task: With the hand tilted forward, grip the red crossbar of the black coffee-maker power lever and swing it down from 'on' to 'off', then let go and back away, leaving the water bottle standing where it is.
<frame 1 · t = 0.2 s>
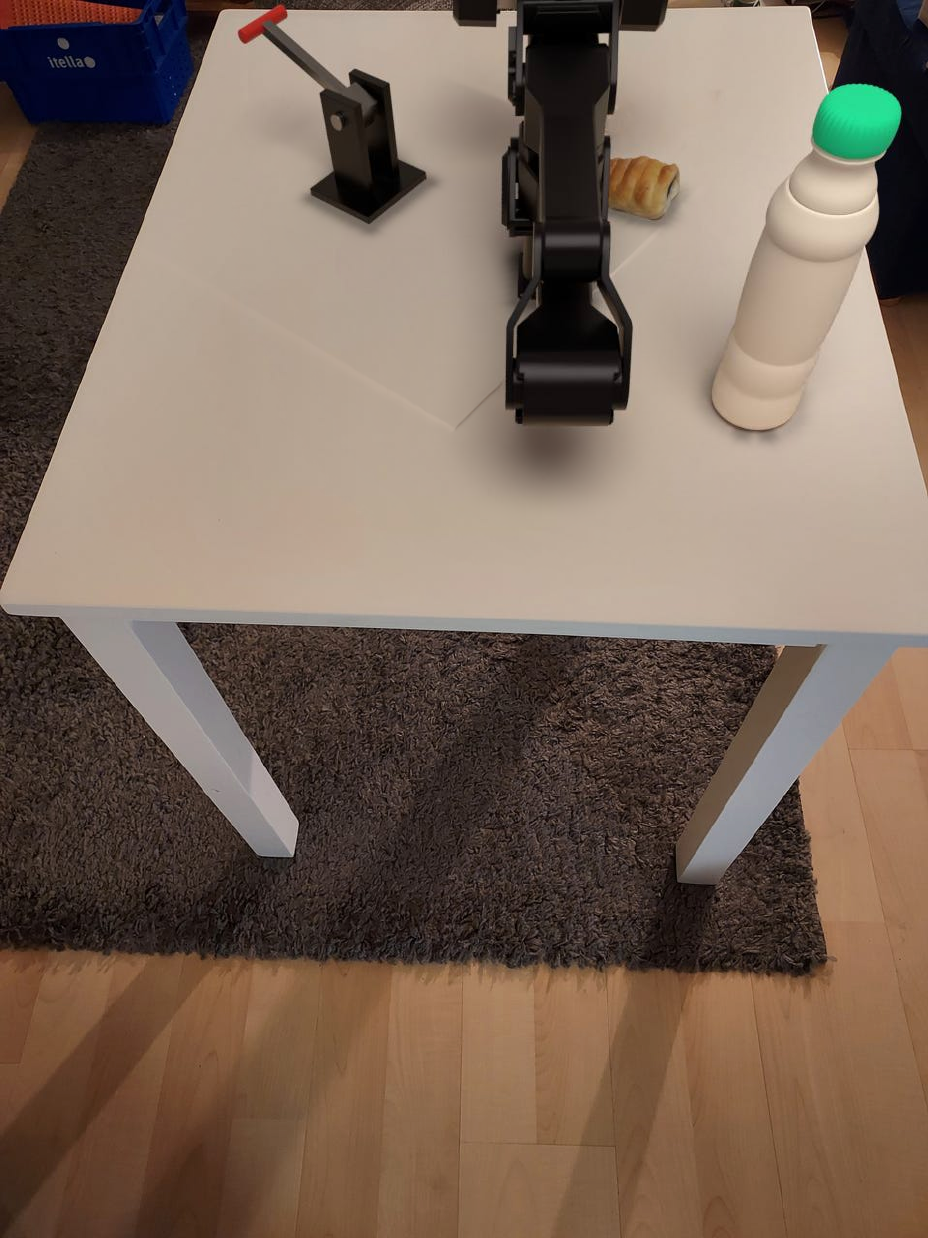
power lever: (313, 68, 79), point 10 cm above the table, hinge at 20.0°
water bottle: (751, 404, 71), on the table
switch bracket: (369, 190, 87), on the table
pastry: (633, 201, 85), on the table
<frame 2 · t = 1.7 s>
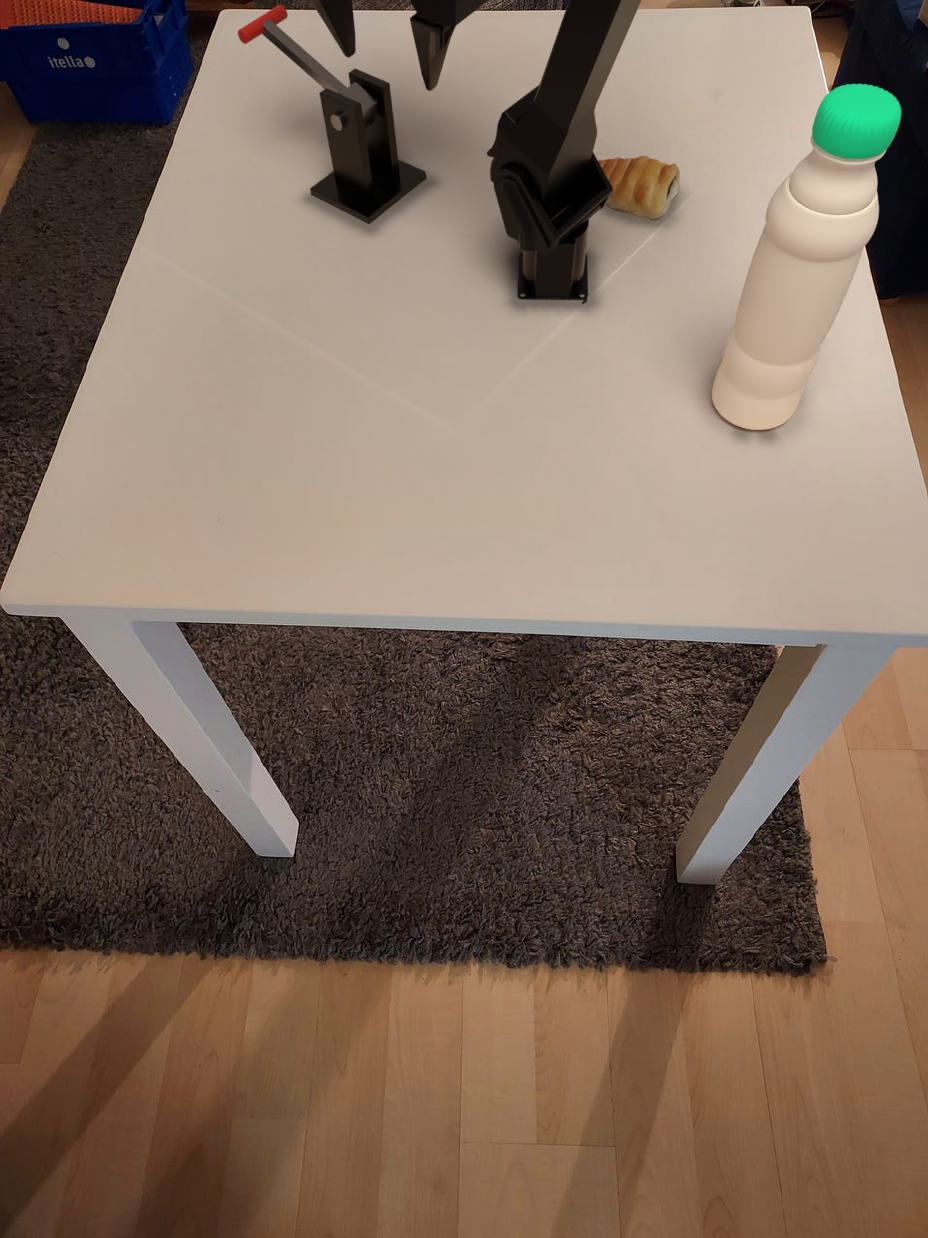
hand: (390, 71, 74), 13 cm above the table, tool pointing down, fingers open, 9 cm apart
nothing on the table moved.
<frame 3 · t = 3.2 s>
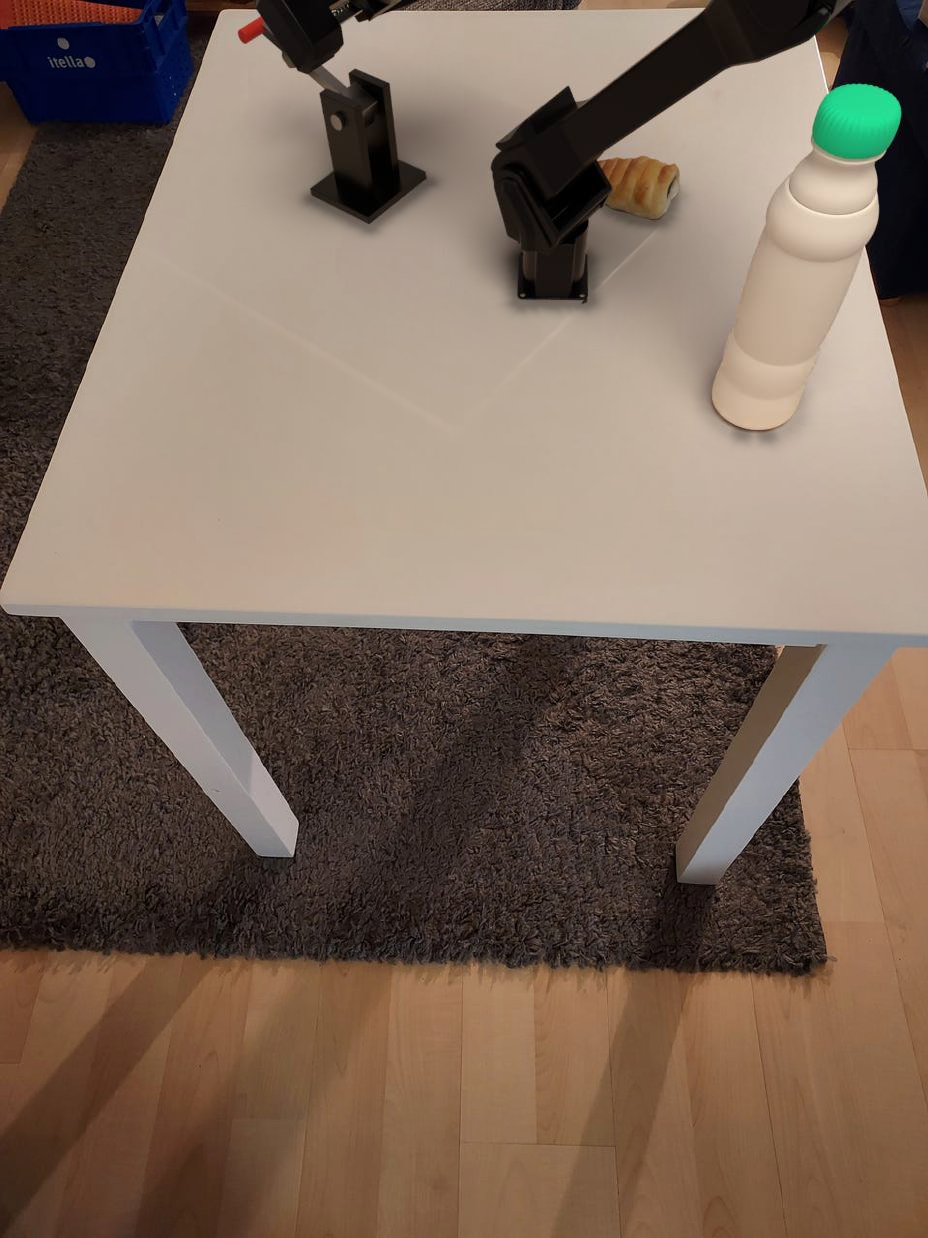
hand: (322, 38, 76), 14 cm above the table, tool tilted 45°, fingers open, 9 cm apart
nothing on the table moved.
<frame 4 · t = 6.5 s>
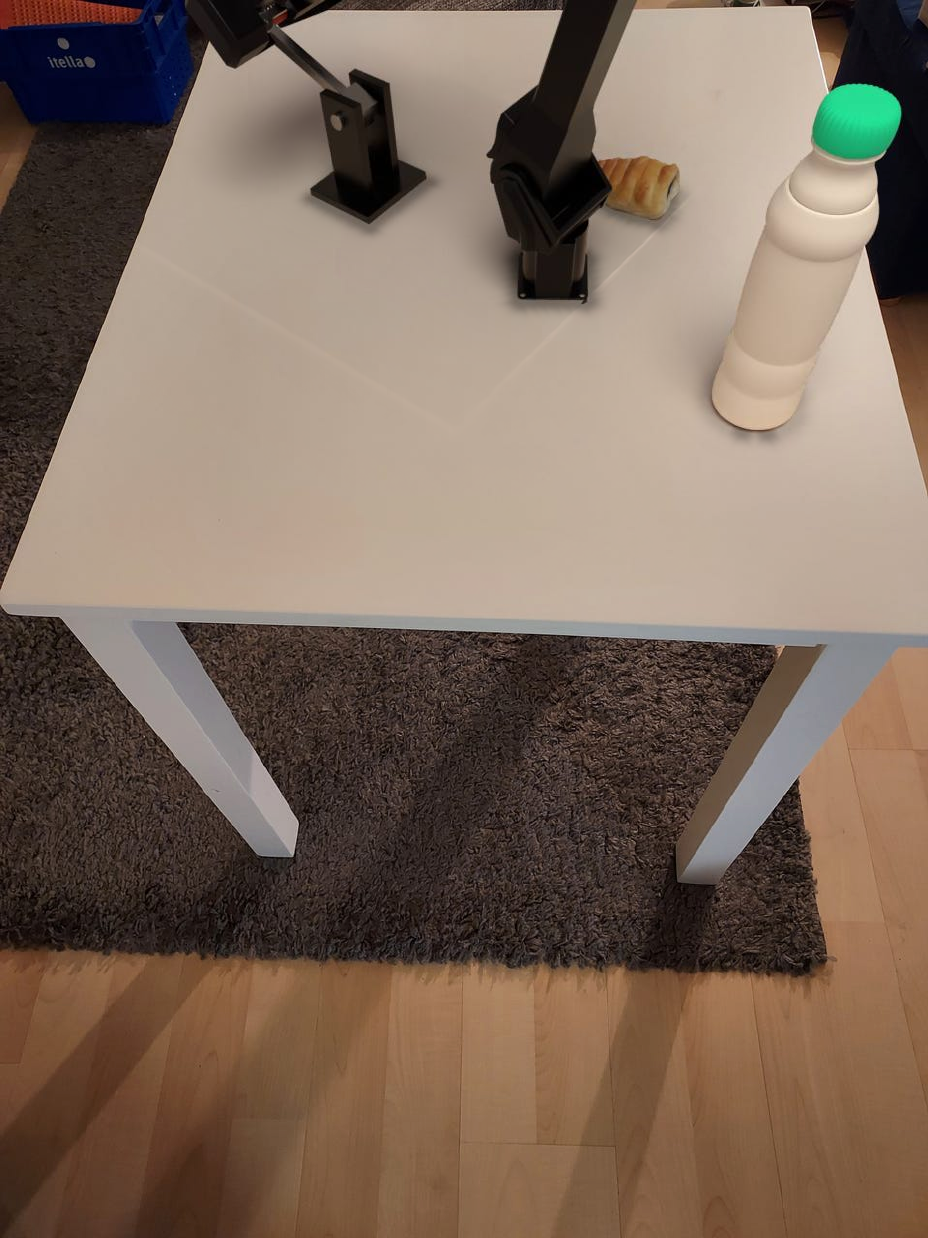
hand: (256, 35, 81), 11 cm above the table, tool tilted 45°, fingers closed on power lever, 5 cm apart
power lever: (313, 68, 79), point 10 cm above the table, hinge at 20.0°, touching gripper
everything else where it was.
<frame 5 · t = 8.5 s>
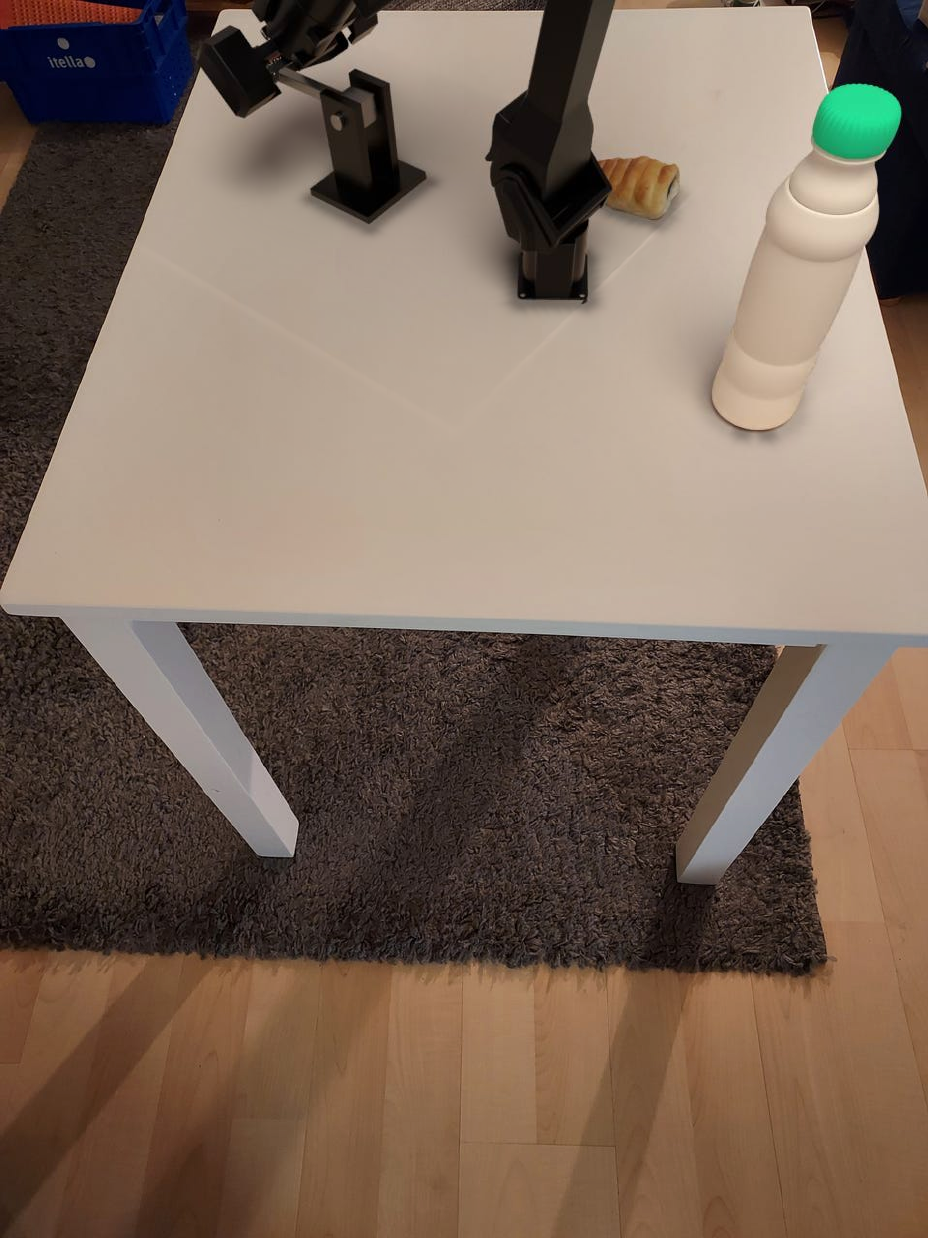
hand: (263, 82, 85), 7 cm above the table, tool tilted 45°, fingers closed on power lever, 5 cm apart
power lever: (314, 88, 81), point 8 cm above the table, hinge at -0.5°, touching gripper
everything else where it was.
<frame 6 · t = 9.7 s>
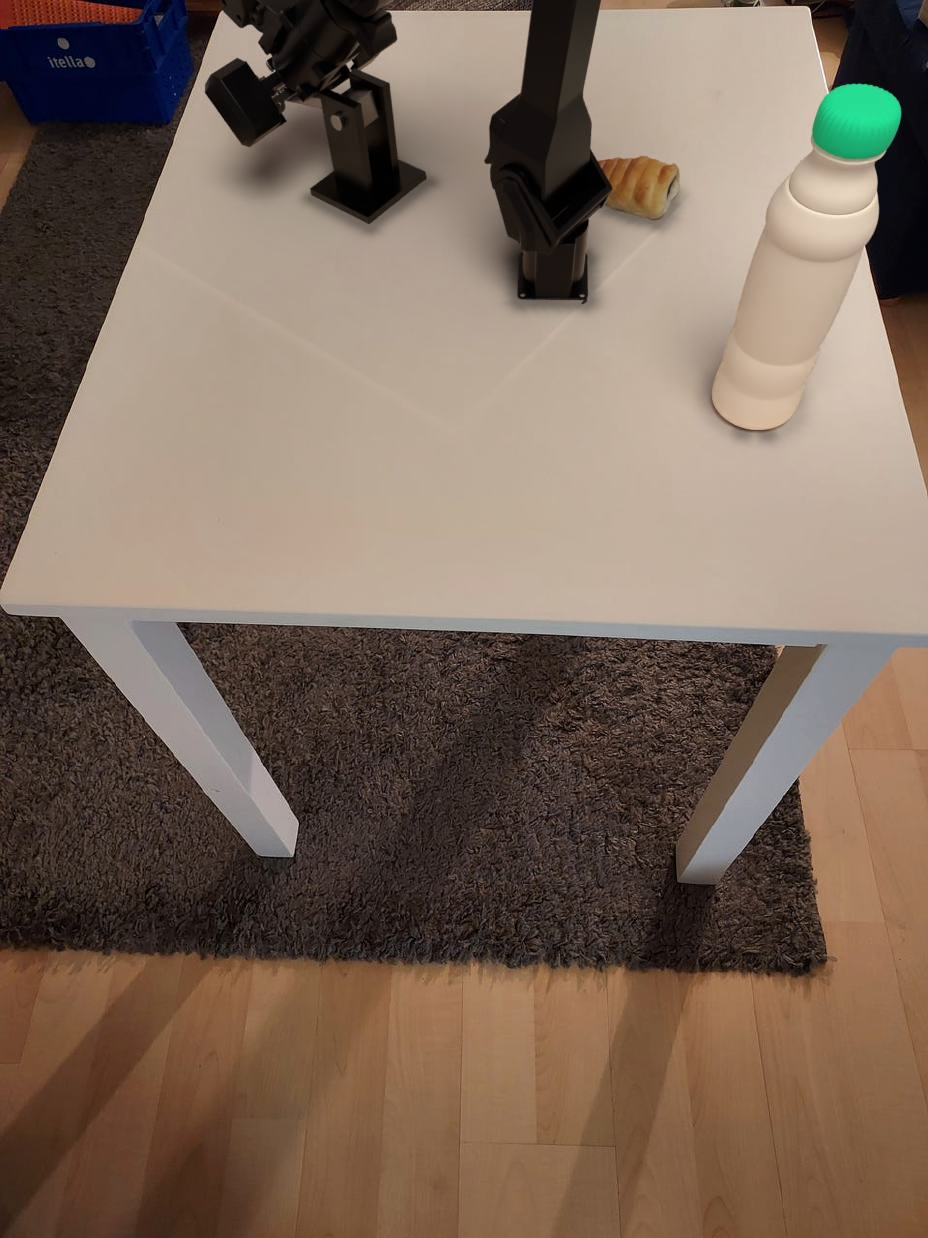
hand: (267, 107, 88), 4 cm above the table, tool tilted 45°, fingers closed on power lever, 5 cm apart
power lever: (317, 99, 82), point 7 cm above the table, hinge at -10.4°, touching gripper
everything else where it was.
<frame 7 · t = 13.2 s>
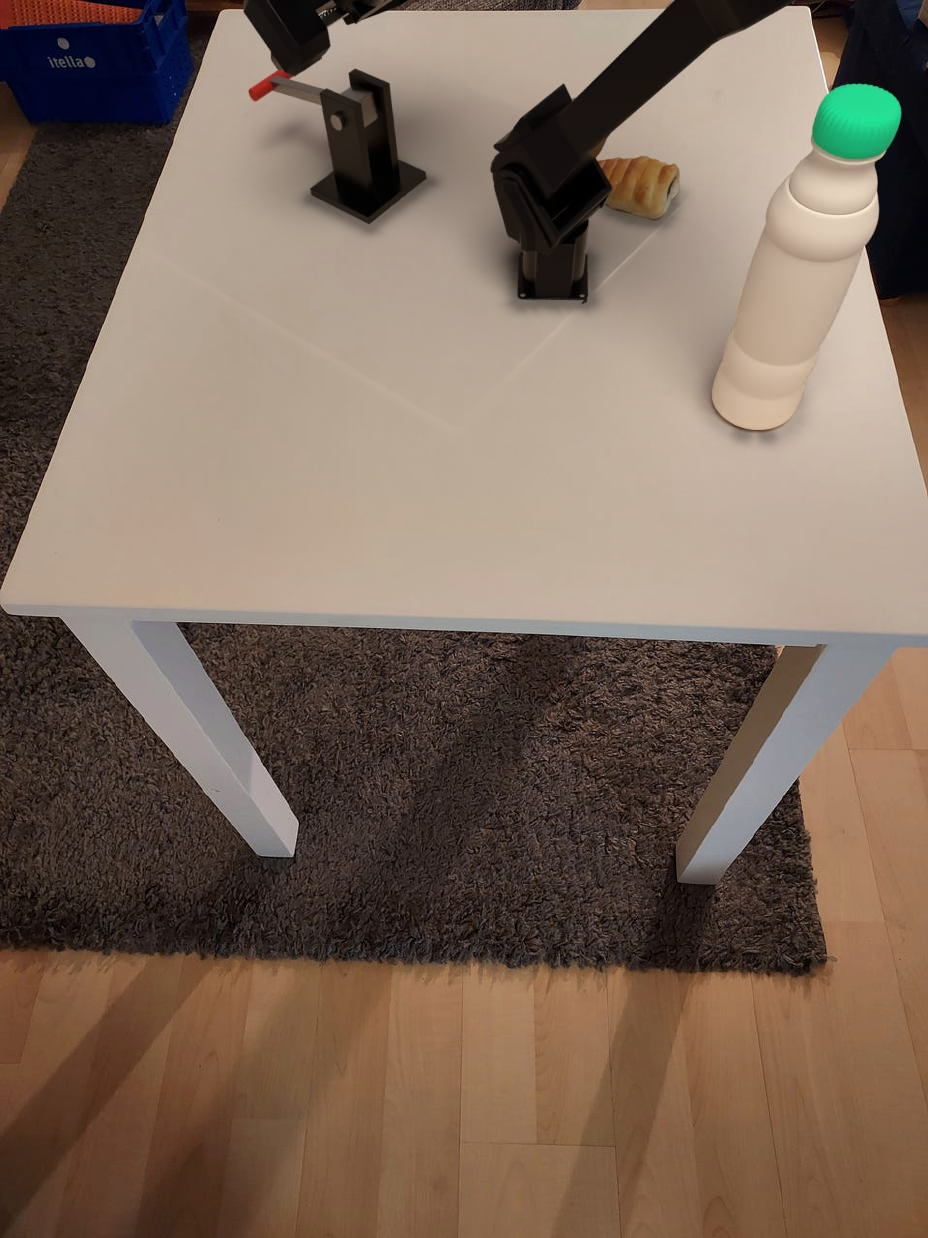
hand: (310, 41, 77), 13 cm above the table, tool tilted 45°, fingers open, 9 cm apart
power lever: (316, 95, 82), point 8 cm above the table, hinge at -6.7°
everything else where it was.
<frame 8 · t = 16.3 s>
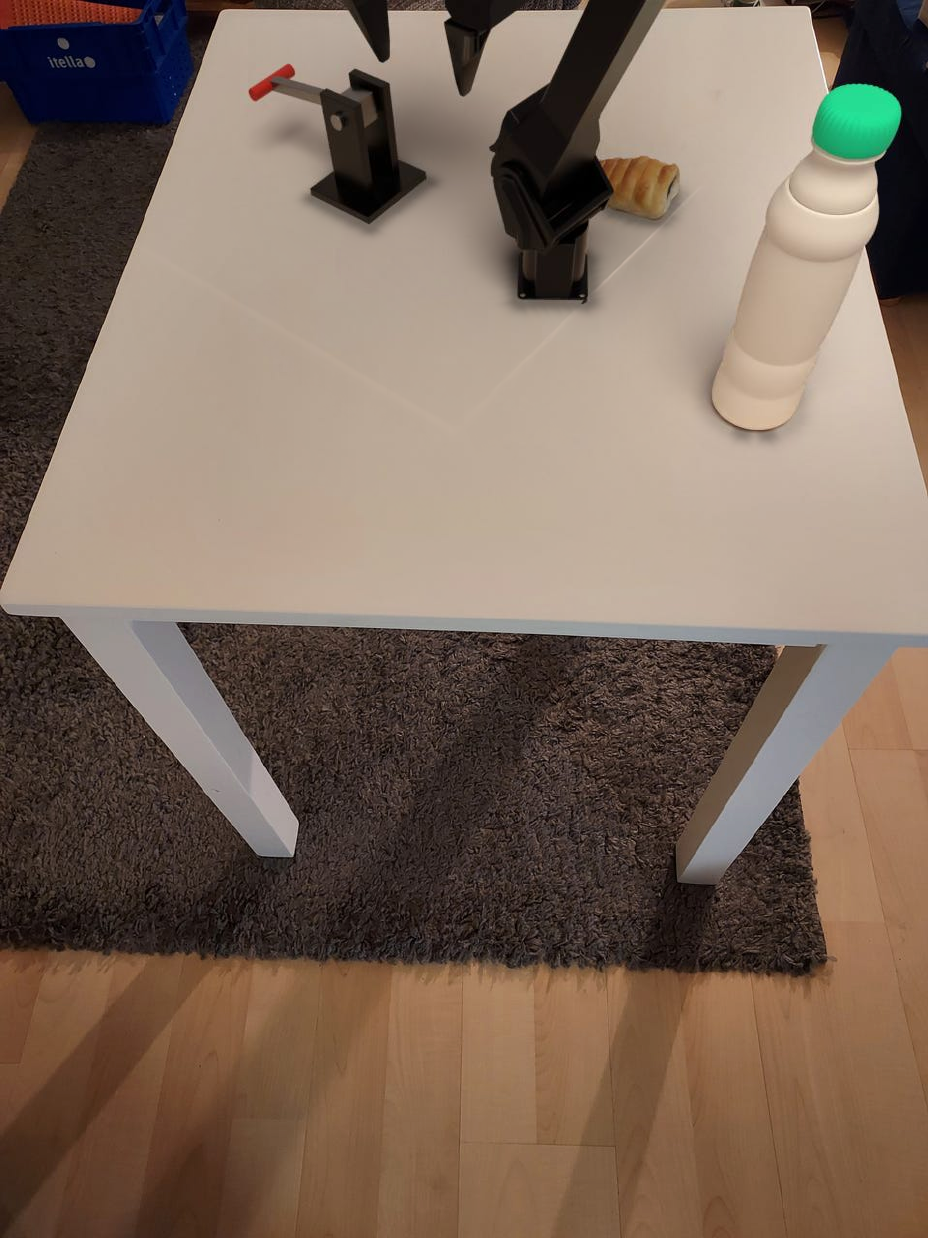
hand: (424, 76, 73), 13 cm above the table, tool pointing down, fingers open, 9 cm apart
nothing on the table moved.
at the end: power lever at -7° (first picture: +20°); water bottle moved 0.2 cm from its start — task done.
